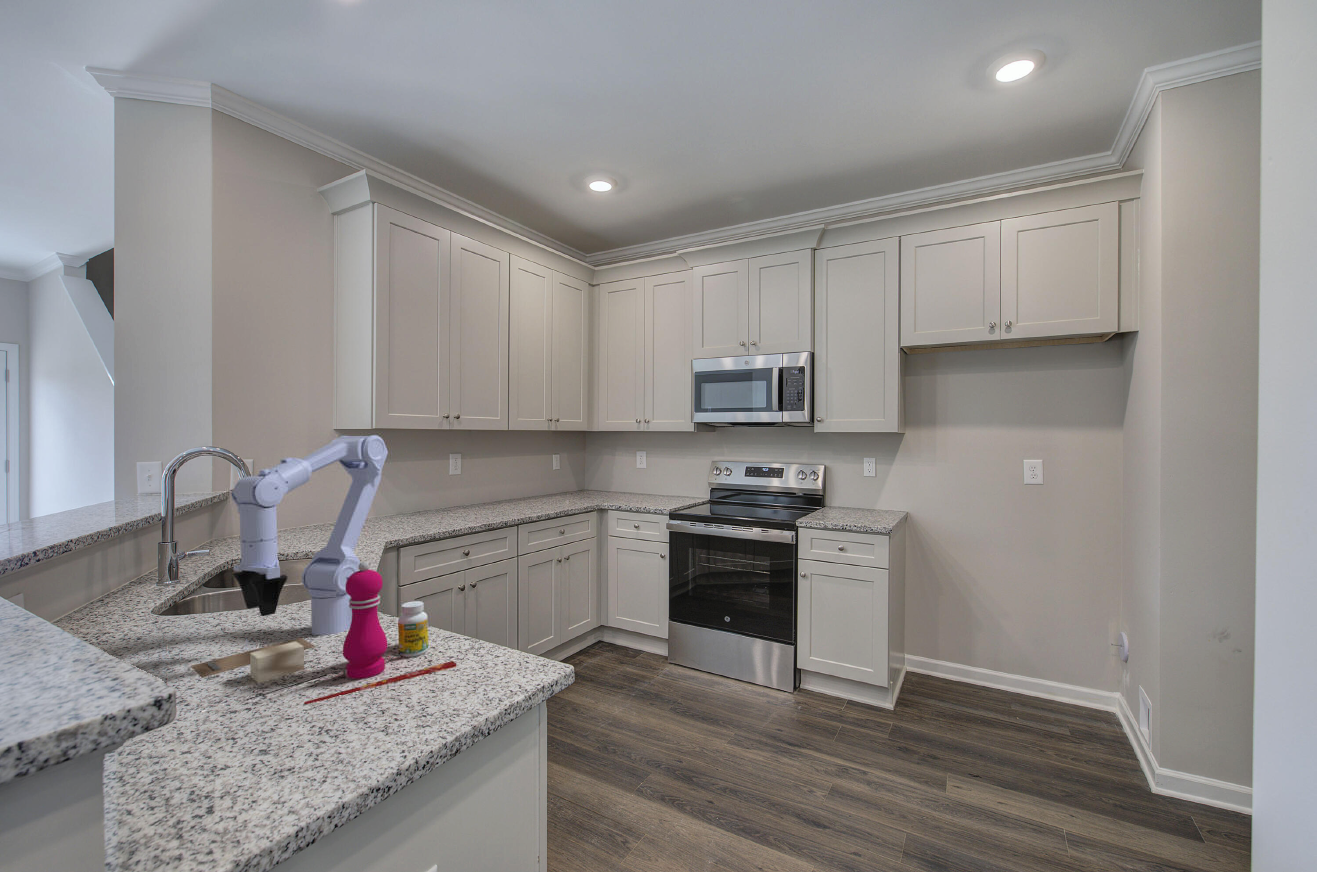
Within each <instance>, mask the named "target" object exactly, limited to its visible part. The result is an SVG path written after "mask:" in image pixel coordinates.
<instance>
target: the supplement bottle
mask: <svg viewBox="0 0 1317 872" xmlns="http://www.w3.org/2000/svg"><path fill="white" fill-rule="evenodd" d="M424 605H425V604H424V602H423V601H418V600H416V601H409V602H405V603H403V604H401V605H400V606H401V607H400V608H401V610H400V612H401V613H402V614H401V615H399V617H398V620H397V629H398V630H397V631H398V650H399V652H398V654H399V656H401V657H403V658H414V657H418V656H421V655H422V656H423V655H424V654H426V653H427V652H428V650H429V622H428V614H427V613H426V612H425V611H424V608H425V607H424Z"/></svg>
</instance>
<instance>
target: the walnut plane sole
mask: <svg viewBox="0 0 1317 872" xmlns="http://www.w3.org/2000/svg"><path fill="white" fill-rule="evenodd" d="M295 641H296V642H297V643H299V644H301V645H303V646H304V651H305V650H309V649H312V648H316V647H317V646H316V645H314V644H313V643H311V642H309V641H307V640H306V639H304V638H302V637H298V638H293V639H290V640H286V641H283V642H278V643H275V644H270V645H267V646H263V647H259V648H255V649H251V650H247V651H244V652H239V653H235V654H231V655H228V656H224V657H219V658H216V659H212V660H208V661H205V662H200V663H196V664H192V665H190V667H191V668H192V669H193V670H194V671H196V673H197V674H199V676H200V677H201V678H206V677H209V676H213V675H216V674H220V673H224V672H228V671H231V670H235V669H239V668H243V667H246V666H251V663H250V653H253V652H256V651H260V650H264V649H268V648H272V647H276V646H280V645H283V644H287V643H291V642H295Z"/></svg>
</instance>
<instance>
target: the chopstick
mask: <svg viewBox="0 0 1317 872" xmlns="http://www.w3.org/2000/svg"><path fill="white" fill-rule="evenodd" d="M456 667H457V664H456V662H455V661H453V660H450V661H447V662H444V663H443V662H442V663H440V664H436V665H433V666H430V667H425V668H422V669H419V670H415V671H411V672H408V673H404V674H401V675H397V676H392V677H389V678H386V679H382V680H380V681H375V682H372V683H368V684H364V685H361V686H357V687H354V688H350V689H347V690H346V689H345V690H343V691H340V692H339V691H338V692H336V693H332V694H329V695H325V696H320V697H318V698H314V699H310V700H308V701H307V700H306V701H304V702H303V704H304V705H305V706H306V705H310V704H313V702H314V703H316V702H317V701H318V702H321V700H322V701H325V699H326V700H329V699H333V697H334V698H337V696H338V697H340V696H339V695H342V696H346V695H349V693H350V694H354V693H356V691H358V692H362V691H364V690H369V689H373V688H378V687H380V686H385V685H388V684H392V683H397V682H401V681H405V680H409V679H412V678H417V677H420V676H425V675H429V674H432V673H435V672H440V671H445V670H448V669H452V668H453V669H454V668H456ZM353 692H354V693H353ZM345 694H346V695H345Z"/></svg>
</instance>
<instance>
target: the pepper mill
mask: <svg viewBox="0 0 1317 872" xmlns="http://www.w3.org/2000/svg"><path fill="white" fill-rule="evenodd" d="M383 582H384V581H383V577H382V575H381V574H380V573H379V572H377V571H376V570H372V569H370V563H369V562H367V561H362V562H361V561H360V564H359V567H358V571H357V572H355V573H353V574H352V575H350V576H349V578H348V579H347V581H346V587H345V588H346V592H347V594H348V595H349V596H350V597H351V598H350V599H349V602H350V604H349V607H350V608H352V621H351V626H350V629H348V632H347V634H346V637H345V638H344V643H343V645H342V656H343V658H344V659H345V660H347V664H346V666H345V670H346V671H345V675H346V677H347V678H350V679H352V680H353V679H354V680H361V679H367V678H372V677H375V676H377V675H380V674H381V673H383V672H384V671H385V668H386V662H385V661H386V659H385V658H384V657H383V655H384V654H385V653H386V651H387V649H388V639H387V636H386V633H385V631H384V629H383V627H382V625H381V623H380V619H379V615H378V607H379V606H378V605H379V604H380V603H381V600H380V598H381V597H380V596H381V595H379V593H380V592H381V590H382V588H383V585H384V584H383Z"/></svg>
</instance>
